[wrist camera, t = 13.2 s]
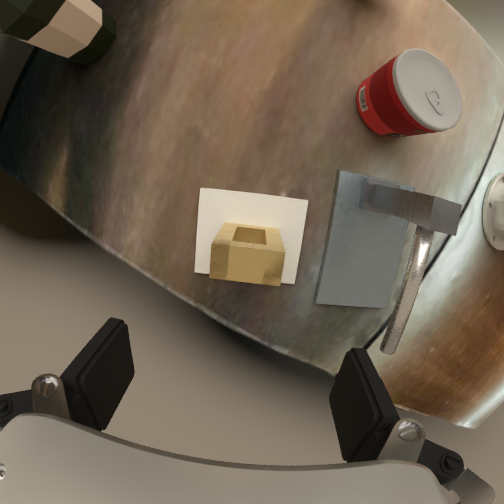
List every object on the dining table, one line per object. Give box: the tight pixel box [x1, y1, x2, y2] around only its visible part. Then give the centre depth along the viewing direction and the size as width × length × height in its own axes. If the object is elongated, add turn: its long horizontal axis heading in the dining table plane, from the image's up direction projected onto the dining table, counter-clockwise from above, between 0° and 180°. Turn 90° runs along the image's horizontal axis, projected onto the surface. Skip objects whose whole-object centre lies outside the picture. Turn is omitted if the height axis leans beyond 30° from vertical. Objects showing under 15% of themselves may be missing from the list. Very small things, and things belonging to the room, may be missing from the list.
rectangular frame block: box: [209, 222, 286, 286], centre depth 27 cm, size 6×3×9 cm, turn 84°
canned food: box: [356, 48, 462, 138], centre depth 21 cm, size 8×8×11 cm
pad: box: [195, 188, 308, 284], centre depth 31 cm, size 12×10×1 cm
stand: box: [314, 170, 462, 355], centre depth 25 cm, size 10×16×14 cm, turn 173°
